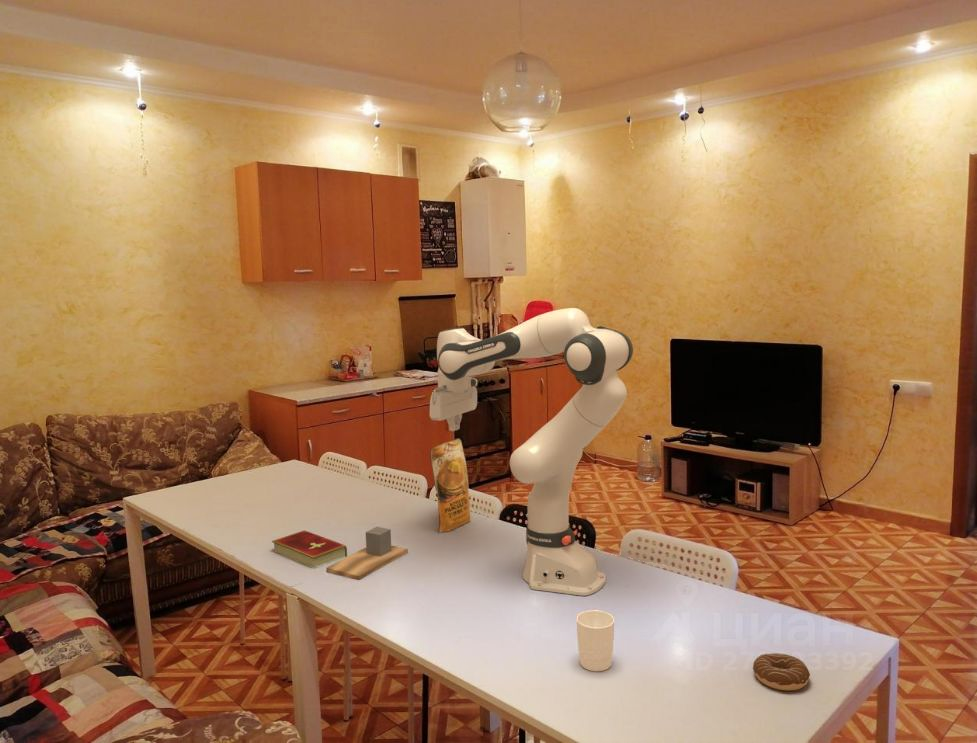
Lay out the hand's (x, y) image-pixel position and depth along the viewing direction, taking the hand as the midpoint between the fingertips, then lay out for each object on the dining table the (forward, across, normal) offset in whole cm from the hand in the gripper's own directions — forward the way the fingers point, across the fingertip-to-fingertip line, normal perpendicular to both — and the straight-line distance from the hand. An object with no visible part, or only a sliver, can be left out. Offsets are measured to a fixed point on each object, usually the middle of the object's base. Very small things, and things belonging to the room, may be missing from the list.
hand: (454, 430), depth 212 cm
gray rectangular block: (+36, -14, +19) cm, 43 cm away
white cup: (+37, -39, -60) cm, 81 cm away
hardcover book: (+38, -22, +39) cm, 59 cm away
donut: (+38, -27, -95) cm, 106 cm away
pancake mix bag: (+37, +18, +14) cm, 44 cm away
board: (+37, -19, +19) cm, 46 cm away
